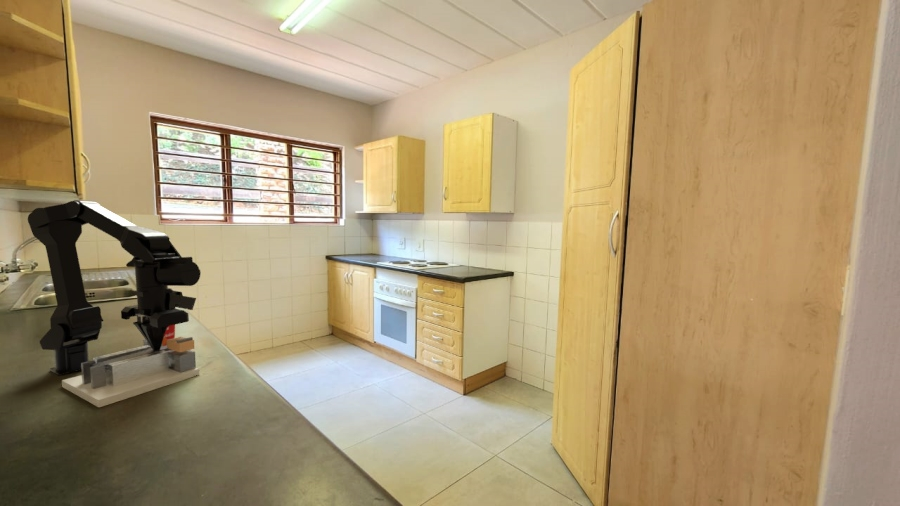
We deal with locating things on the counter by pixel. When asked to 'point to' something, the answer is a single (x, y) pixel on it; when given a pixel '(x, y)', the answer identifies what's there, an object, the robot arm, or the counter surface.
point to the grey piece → (135, 366)
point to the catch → (180, 344)
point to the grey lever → (131, 356)
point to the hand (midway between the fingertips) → (156, 349)
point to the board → (124, 387)
